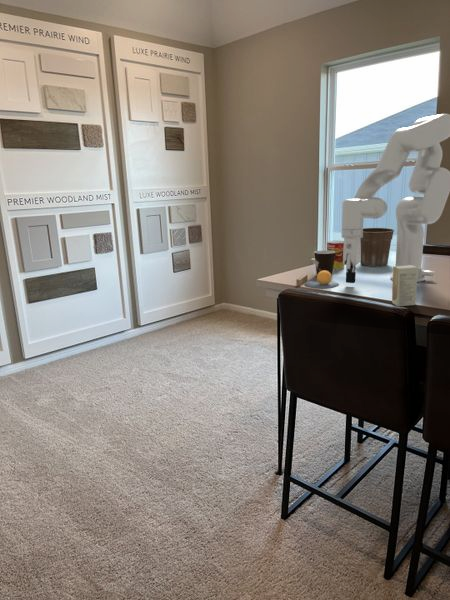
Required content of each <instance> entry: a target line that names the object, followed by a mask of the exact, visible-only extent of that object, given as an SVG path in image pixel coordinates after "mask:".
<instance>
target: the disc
mask: <svg viewBox="0 0 450 600" xmlns="http://www.w3.org/2000/svg"><path fill="white" fill-rule="evenodd" d="M304 286H305V287H307V288H311V289H312V288H313V289H331V288H337V287H339V286H340V283H339V282H337V281H332V280H331V282H330V283H329V284H327V285H322V284H320V283H319V282H318V281H317V279H316V280H310V281H306V282H305V283H304ZM336 286H337V287H336Z"/></svg>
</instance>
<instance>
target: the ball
mask: <svg viewBox="0 0 450 600" xmlns="http://www.w3.org/2000/svg"><path fill="white" fill-rule="evenodd" d="M332 277H333V275H332V276H331V274H330V272H328V271H325V270H323V271H320V272H319V273H318V275H317V274H316V280H317V281H318V282H319V283H320V284H322V285H327V284H329V283H330V282H331V281H332V280H333V279H332Z"/></svg>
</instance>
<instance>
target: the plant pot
mask: <svg viewBox="0 0 450 600" xmlns="http://www.w3.org/2000/svg"><path fill="white" fill-rule="evenodd" d="M394 232H395V229H393V228H387V227H365V228H364V227H363V237H362V238H361V261H360V263H359V264H360V265H362V266H365V267H370V268H371V267H373V268H375V267H383V266H384V267H387V266H388V264H389V258H390V249H391V244H392V240H393V236H394Z"/></svg>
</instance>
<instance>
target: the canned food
mask: <svg viewBox="0 0 450 600" xmlns="http://www.w3.org/2000/svg"><path fill="white" fill-rule="evenodd" d="M343 249H344V240H329V241H326V251H335V258H334V265H333V269H340V270H344V269H345V265H344V264H343Z"/></svg>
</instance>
